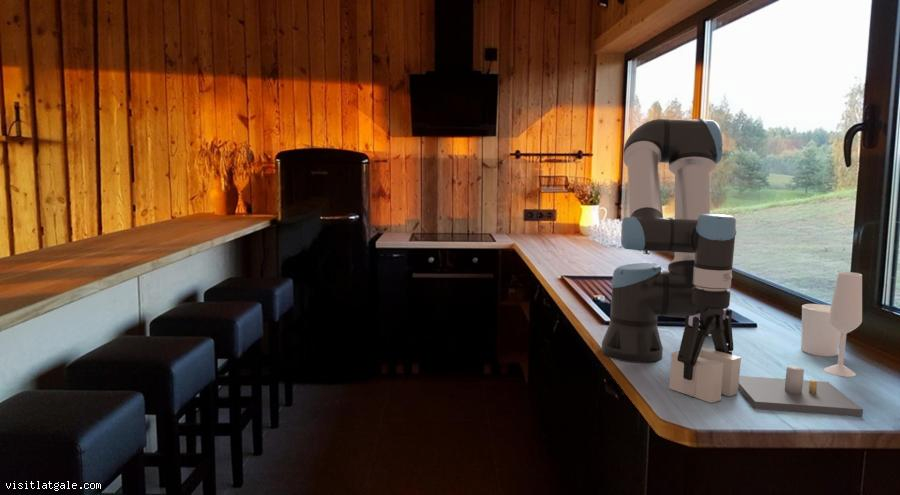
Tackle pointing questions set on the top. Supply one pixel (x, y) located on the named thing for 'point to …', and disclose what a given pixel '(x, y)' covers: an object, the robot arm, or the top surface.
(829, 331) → the candle holder
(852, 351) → the top surface
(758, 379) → the base plate
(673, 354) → the beige notched hollow block
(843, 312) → the champagne flute
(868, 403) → the top surface
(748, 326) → the top surface
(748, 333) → the top surface
